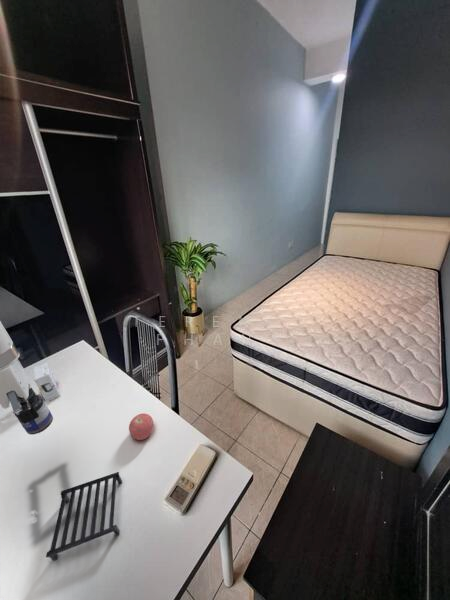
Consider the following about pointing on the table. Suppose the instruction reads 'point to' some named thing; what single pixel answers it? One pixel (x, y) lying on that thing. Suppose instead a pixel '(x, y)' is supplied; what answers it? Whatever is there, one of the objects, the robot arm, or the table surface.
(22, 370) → the robot arm
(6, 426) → the table surface
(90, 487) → the wire rack
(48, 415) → the pill bottle
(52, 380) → the ink box
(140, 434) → the apple
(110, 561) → the table surface
